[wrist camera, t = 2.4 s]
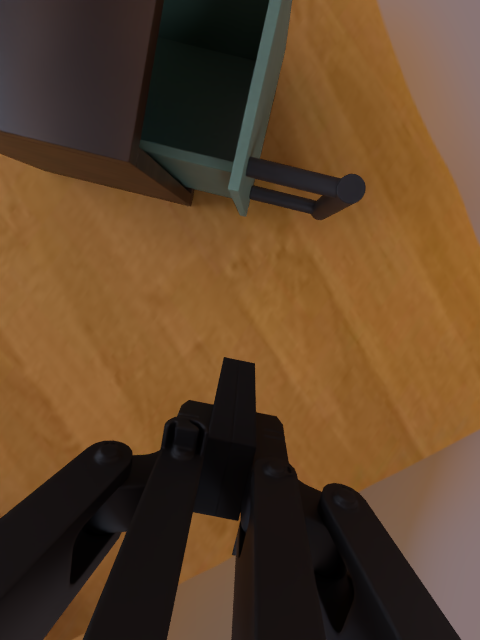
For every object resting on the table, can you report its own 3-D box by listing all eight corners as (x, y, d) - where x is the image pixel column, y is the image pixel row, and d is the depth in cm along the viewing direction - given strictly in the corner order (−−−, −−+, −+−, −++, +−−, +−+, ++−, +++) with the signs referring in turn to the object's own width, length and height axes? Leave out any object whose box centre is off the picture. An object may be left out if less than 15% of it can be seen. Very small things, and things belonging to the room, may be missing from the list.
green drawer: (366, 68, 29) (453, -80, 16) (320, 234, 31) (363, 222, 19) (134, 12, 29) (37, -181, 16) (108, 182, 31) (5, 134, 19)
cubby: (225, 38, 30) (189, -204, 14) (191, 206, 32) (129, 162, 17) (64, -1, 30) (-152, -286, 14) (43, 170, 32) (-157, 92, 17)
